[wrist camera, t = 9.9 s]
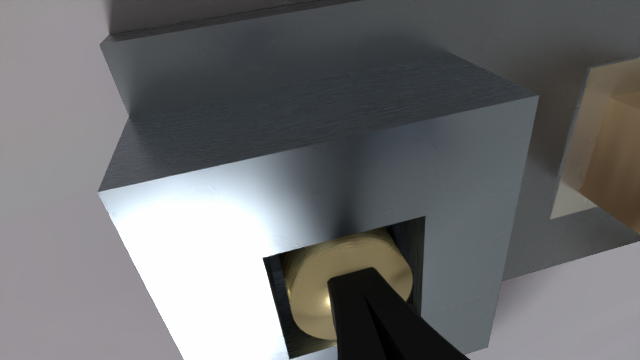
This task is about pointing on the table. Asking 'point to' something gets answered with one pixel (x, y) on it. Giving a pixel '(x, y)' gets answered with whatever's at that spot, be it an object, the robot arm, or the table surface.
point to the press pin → (338, 274)
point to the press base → (361, 154)
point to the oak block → (617, 162)
